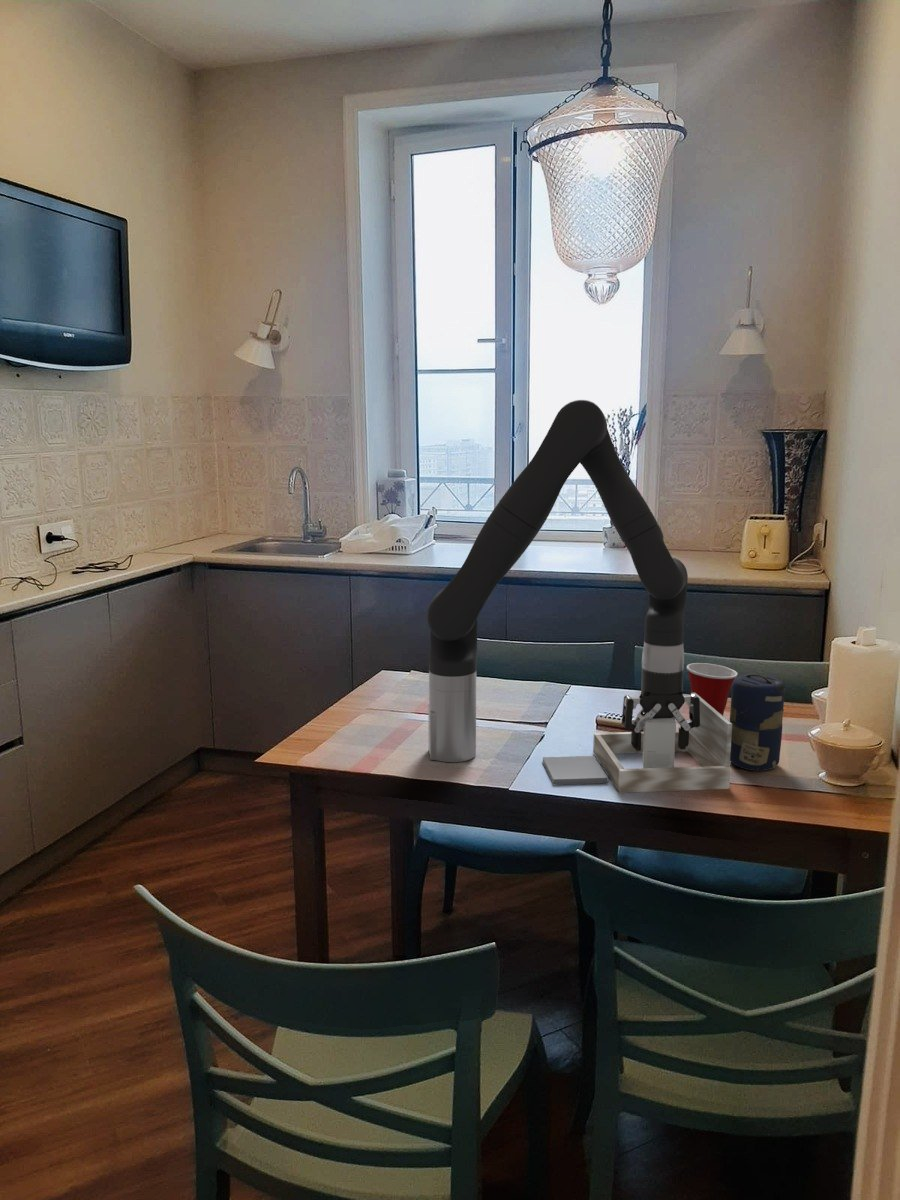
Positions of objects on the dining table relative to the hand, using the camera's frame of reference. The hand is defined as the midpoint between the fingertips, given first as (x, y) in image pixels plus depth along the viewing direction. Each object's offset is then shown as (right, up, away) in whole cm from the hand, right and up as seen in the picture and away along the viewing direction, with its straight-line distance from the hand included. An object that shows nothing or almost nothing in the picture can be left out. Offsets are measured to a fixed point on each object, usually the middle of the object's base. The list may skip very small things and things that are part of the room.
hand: (659, 749), depth 168 cm
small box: (0, -4, +1) cm, 4 cm away
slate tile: (-16, -4, -1) cm, 17 cm away
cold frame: (0, -4, +1) cm, 4 cm away
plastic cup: (+18, +1, +29) cm, 34 cm away
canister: (+19, -4, +3) cm, 19 cm away
